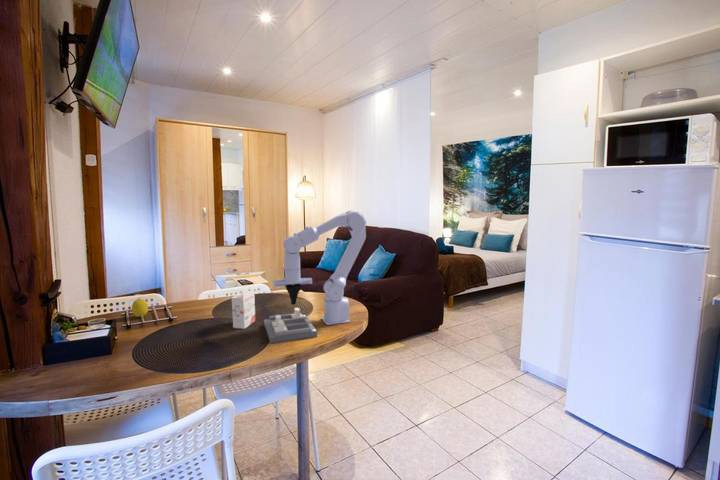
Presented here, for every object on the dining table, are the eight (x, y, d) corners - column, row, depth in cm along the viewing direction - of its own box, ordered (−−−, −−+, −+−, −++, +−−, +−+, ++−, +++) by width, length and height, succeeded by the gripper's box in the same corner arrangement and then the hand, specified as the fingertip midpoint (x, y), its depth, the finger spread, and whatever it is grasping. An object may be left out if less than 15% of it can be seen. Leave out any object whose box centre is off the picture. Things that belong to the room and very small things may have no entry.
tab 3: (301, 316, 137) (301, 306, 137) (303, 319, 134) (303, 310, 133) (291, 317, 136) (291, 308, 135) (293, 321, 132) (293, 311, 132)
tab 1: (283, 323, 129) (282, 313, 129) (284, 327, 126) (284, 317, 125) (271, 325, 128) (271, 315, 127) (273, 329, 124) (273, 318, 124)
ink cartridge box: (244, 320, 139) (242, 283, 137) (255, 321, 138) (254, 284, 136) (232, 328, 130) (230, 289, 128) (244, 329, 129) (243, 290, 127)
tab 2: (285, 329, 124) (285, 318, 124) (287, 333, 120) (287, 322, 120) (274, 330, 123) (273, 320, 122) (275, 334, 119) (275, 324, 118)
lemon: (151, 316, 141) (150, 297, 140) (136, 321, 137) (135, 301, 135) (144, 314, 144) (143, 295, 143) (129, 318, 139) (128, 298, 138)
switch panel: (305, 319, 140) (305, 311, 139) (317, 336, 123) (317, 327, 123) (264, 324, 134) (263, 316, 133) (270, 343, 117) (270, 334, 117)
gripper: (309, 265, 138) (309, 298, 140) (271, 267, 133) (272, 302, 134) (313, 268, 131) (314, 303, 133) (273, 271, 126) (275, 308, 128)
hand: (293, 303), depth 133 cm, fingers closed
